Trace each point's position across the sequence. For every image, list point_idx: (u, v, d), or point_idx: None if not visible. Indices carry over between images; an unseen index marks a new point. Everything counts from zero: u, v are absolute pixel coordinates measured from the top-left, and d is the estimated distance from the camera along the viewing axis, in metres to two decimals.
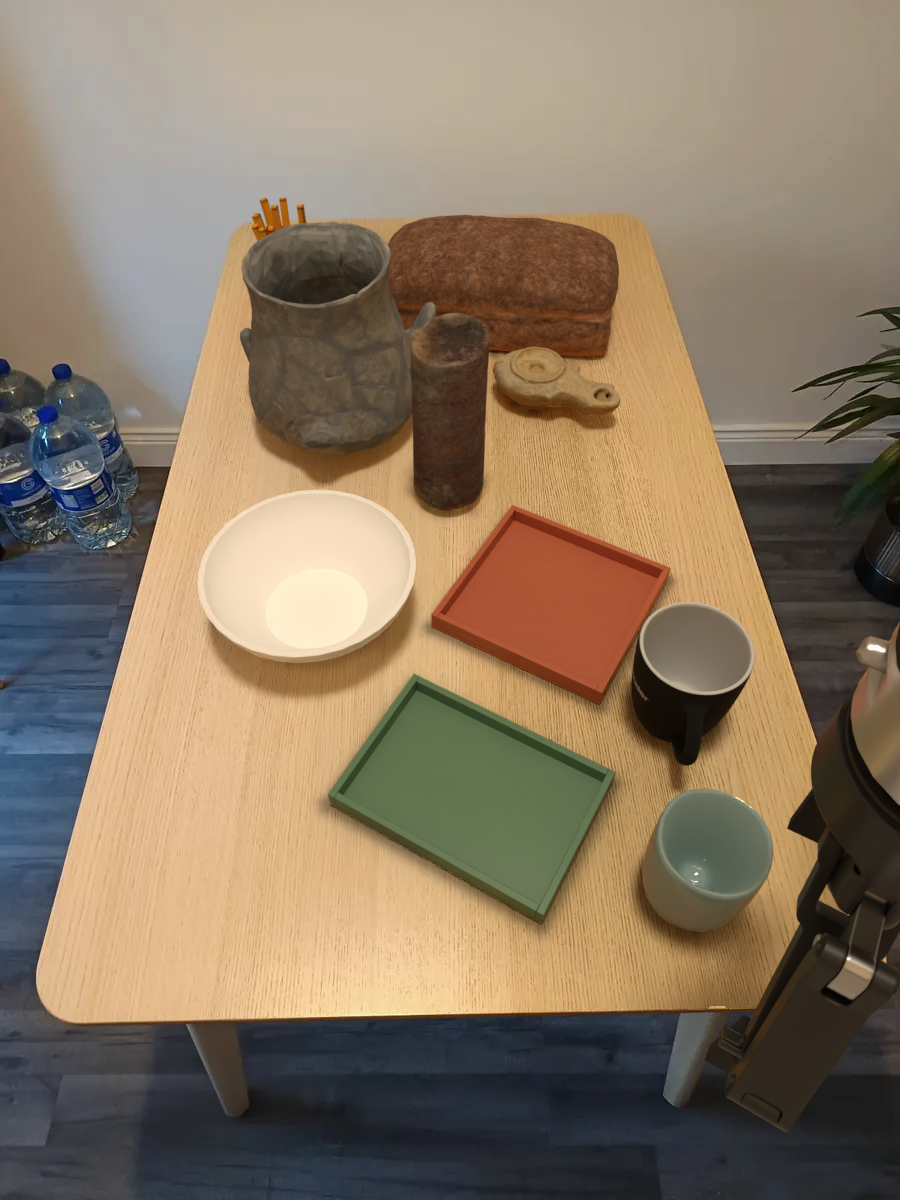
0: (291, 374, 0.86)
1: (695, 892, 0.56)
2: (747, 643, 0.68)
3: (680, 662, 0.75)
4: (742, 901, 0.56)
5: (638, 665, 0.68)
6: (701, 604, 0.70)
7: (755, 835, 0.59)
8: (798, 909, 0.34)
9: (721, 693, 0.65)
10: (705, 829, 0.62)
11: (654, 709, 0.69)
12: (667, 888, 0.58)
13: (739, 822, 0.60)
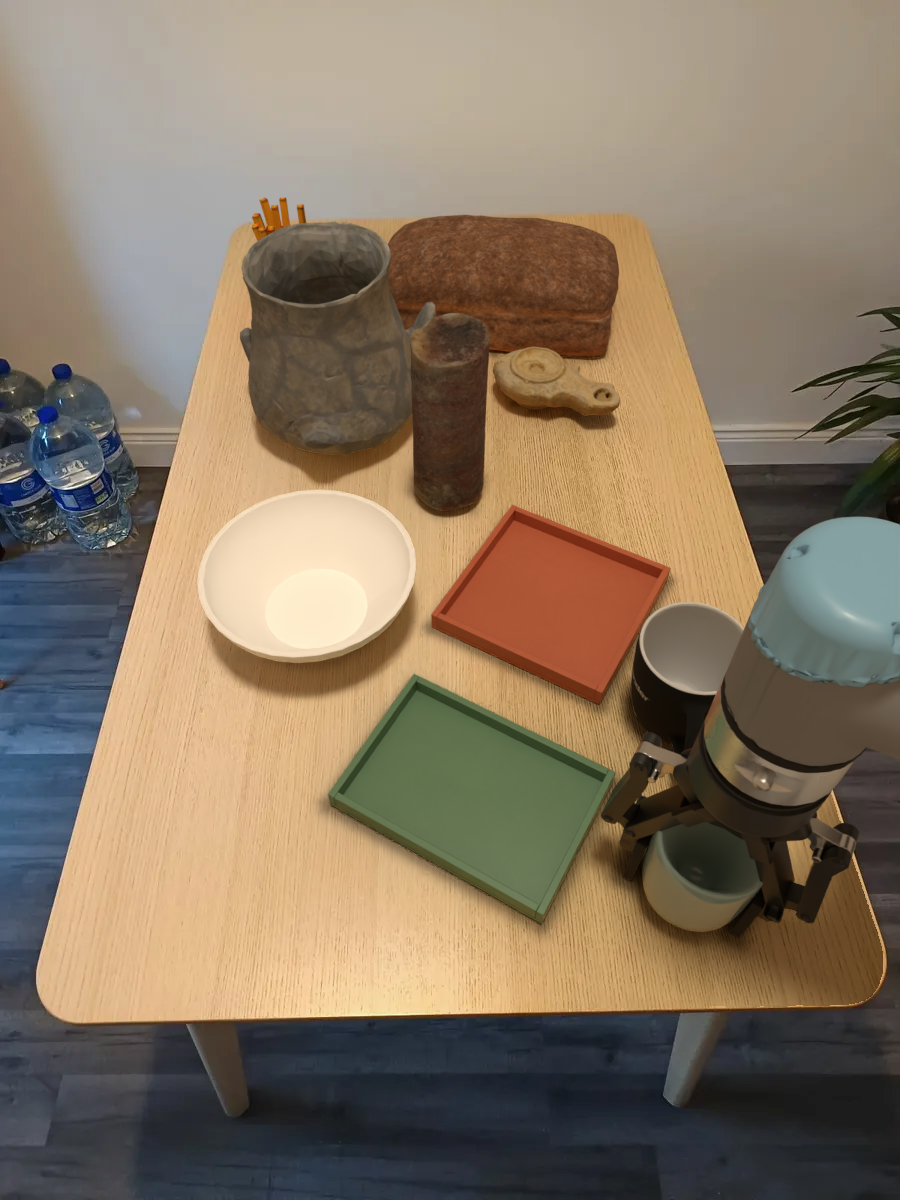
0: (291, 374, 0.86)
1: (695, 892, 0.56)
2: None
3: (680, 662, 0.75)
4: (742, 901, 0.56)
5: (638, 665, 0.68)
6: (701, 604, 0.70)
7: None
8: (769, 862, 0.53)
9: None
10: (705, 829, 0.62)
11: (654, 709, 0.69)
12: (667, 888, 0.58)
13: None
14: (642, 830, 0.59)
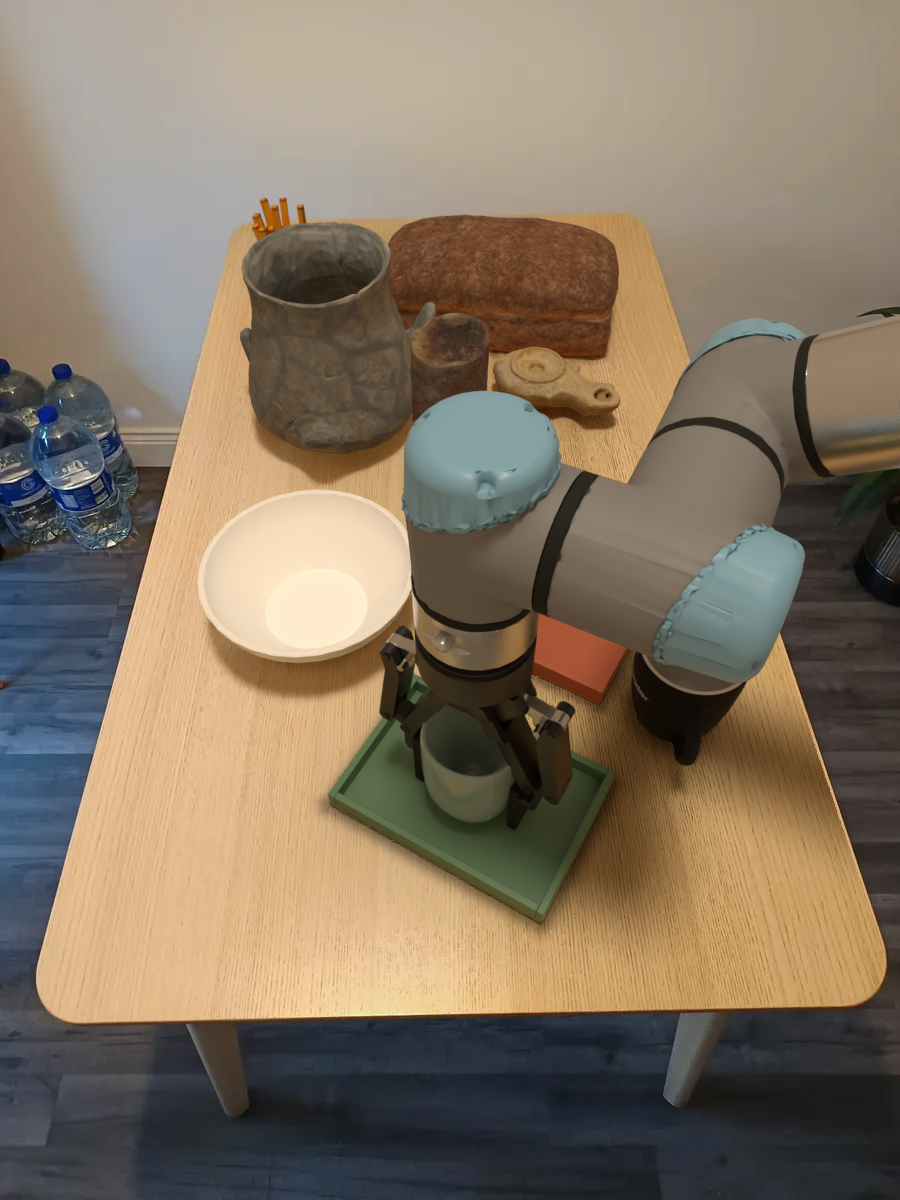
0: (291, 374, 0.86)
1: (448, 775, 0.61)
2: None
3: None
4: (492, 784, 0.61)
5: (638, 665, 0.68)
6: None
7: None
8: (502, 741, 0.58)
9: (721, 693, 0.65)
10: (478, 726, 0.66)
11: (654, 709, 0.69)
12: (431, 775, 0.63)
13: None
14: (412, 724, 0.64)
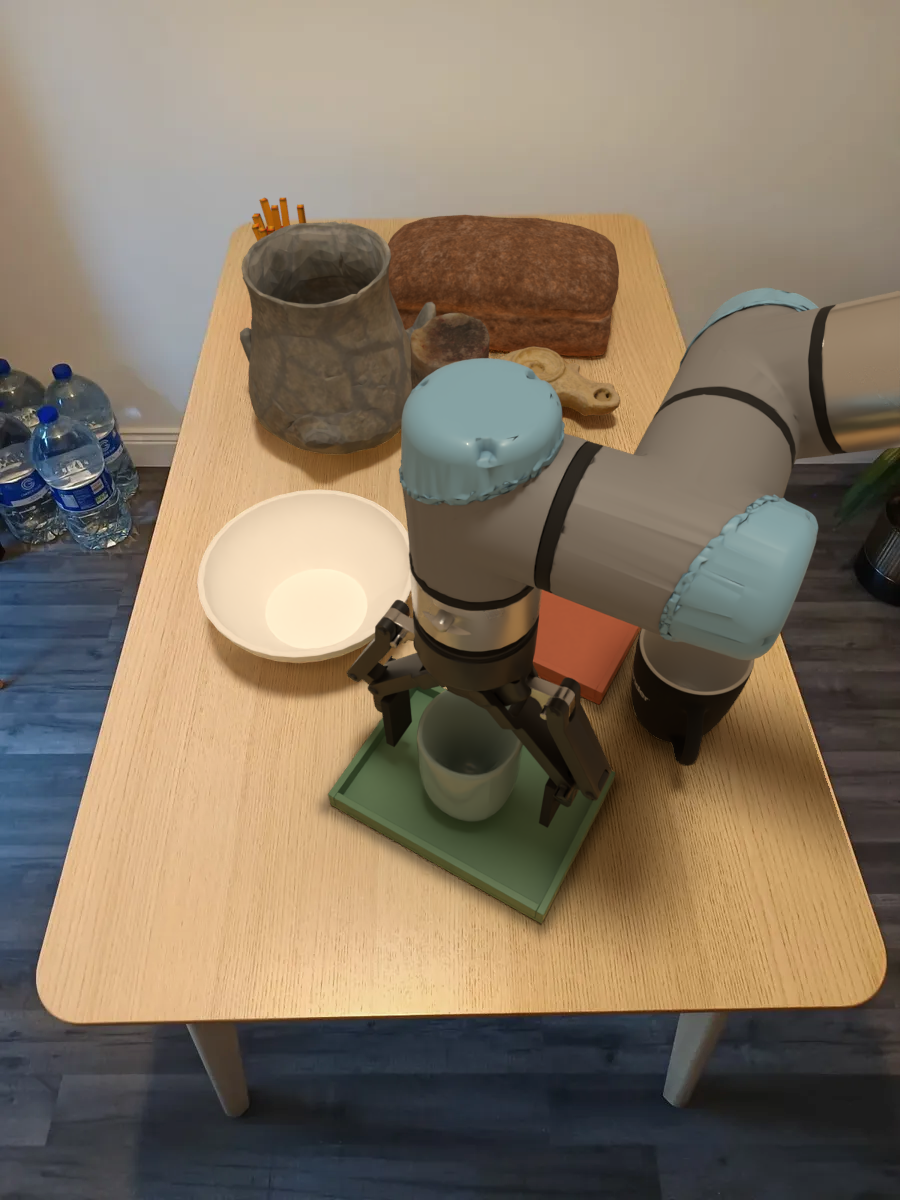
0: (291, 374, 0.86)
1: (444, 774, 0.61)
2: None
3: (680, 662, 0.75)
4: (488, 782, 0.61)
5: (638, 665, 0.68)
6: None
7: None
8: (513, 727, 0.55)
9: (721, 693, 0.65)
10: (475, 725, 0.66)
11: (654, 709, 0.69)
12: (427, 774, 0.63)
13: None
14: (385, 689, 0.62)
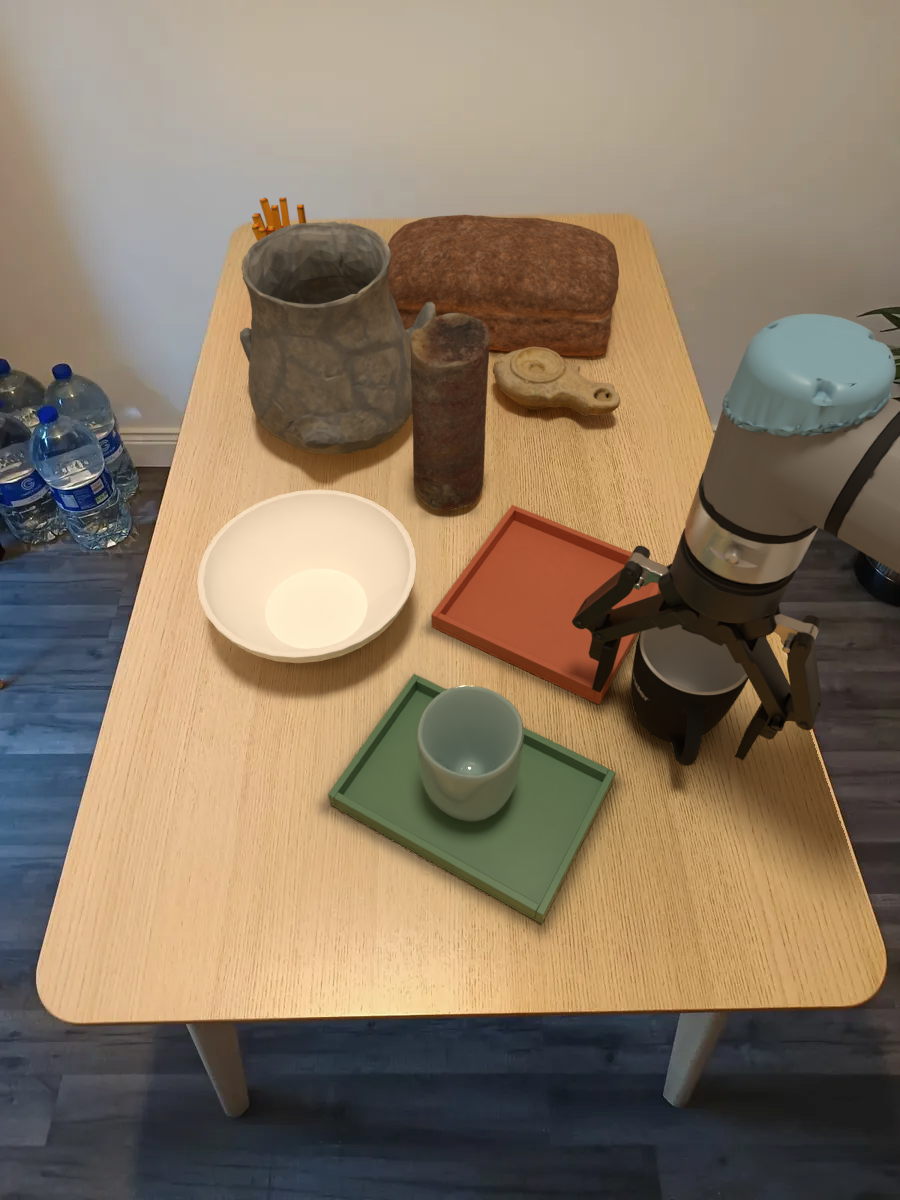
0: (291, 374, 0.86)
1: (444, 774, 0.61)
2: None
3: (680, 662, 0.75)
4: (488, 783, 0.61)
5: (638, 665, 0.68)
6: None
7: (511, 727, 0.64)
8: (750, 660, 0.61)
9: (721, 693, 0.65)
10: (475, 725, 0.66)
11: (654, 709, 0.69)
12: (427, 774, 0.63)
13: (500, 716, 0.65)
14: (611, 634, 0.67)
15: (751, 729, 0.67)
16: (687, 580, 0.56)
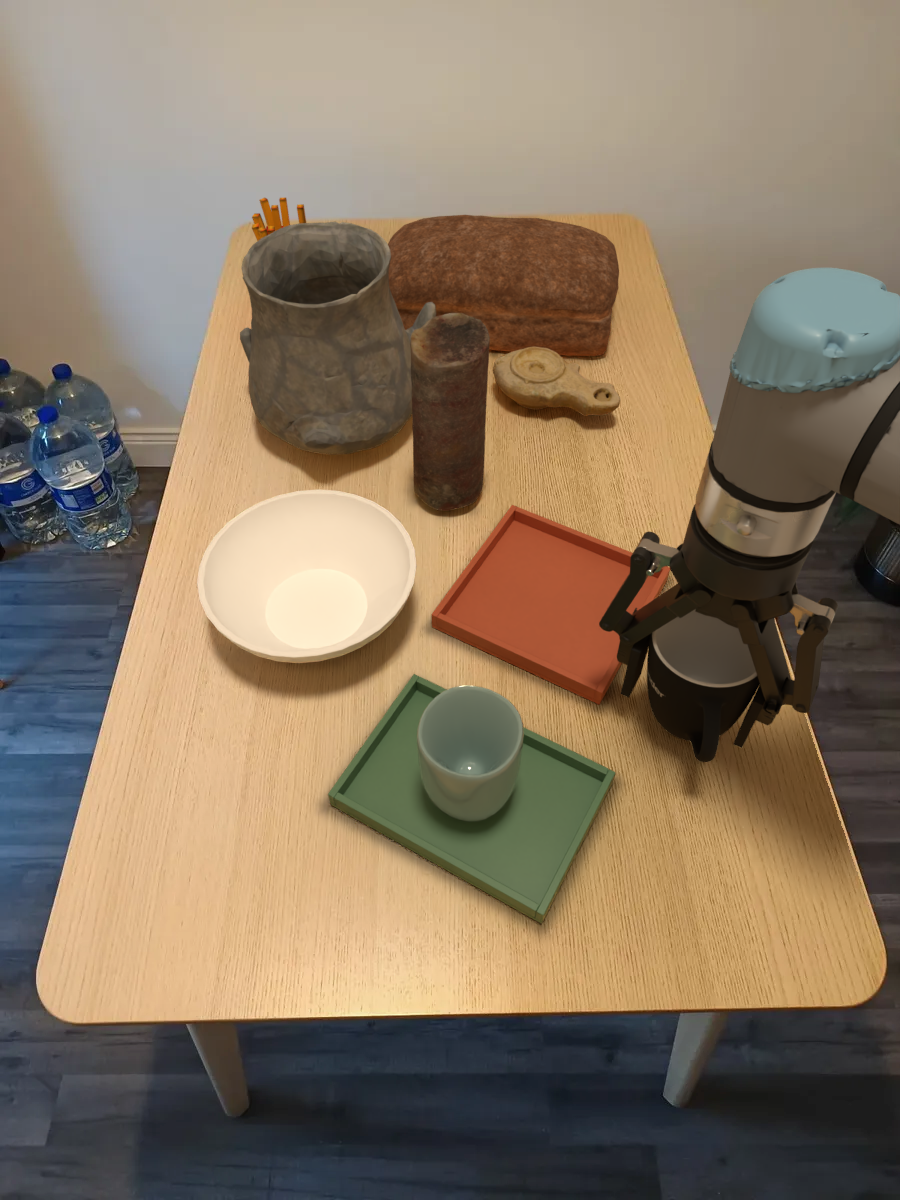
0: (291, 374, 0.86)
1: (444, 774, 0.61)
2: None
3: (697, 658, 0.74)
4: (488, 783, 0.61)
5: (651, 660, 0.67)
6: None
7: (511, 727, 0.64)
8: (759, 642, 0.59)
9: (737, 685, 0.63)
10: (475, 725, 0.66)
11: (670, 705, 0.67)
12: (427, 774, 0.63)
13: (500, 716, 0.65)
14: (637, 633, 0.66)
15: (748, 714, 0.65)
16: (699, 556, 0.54)
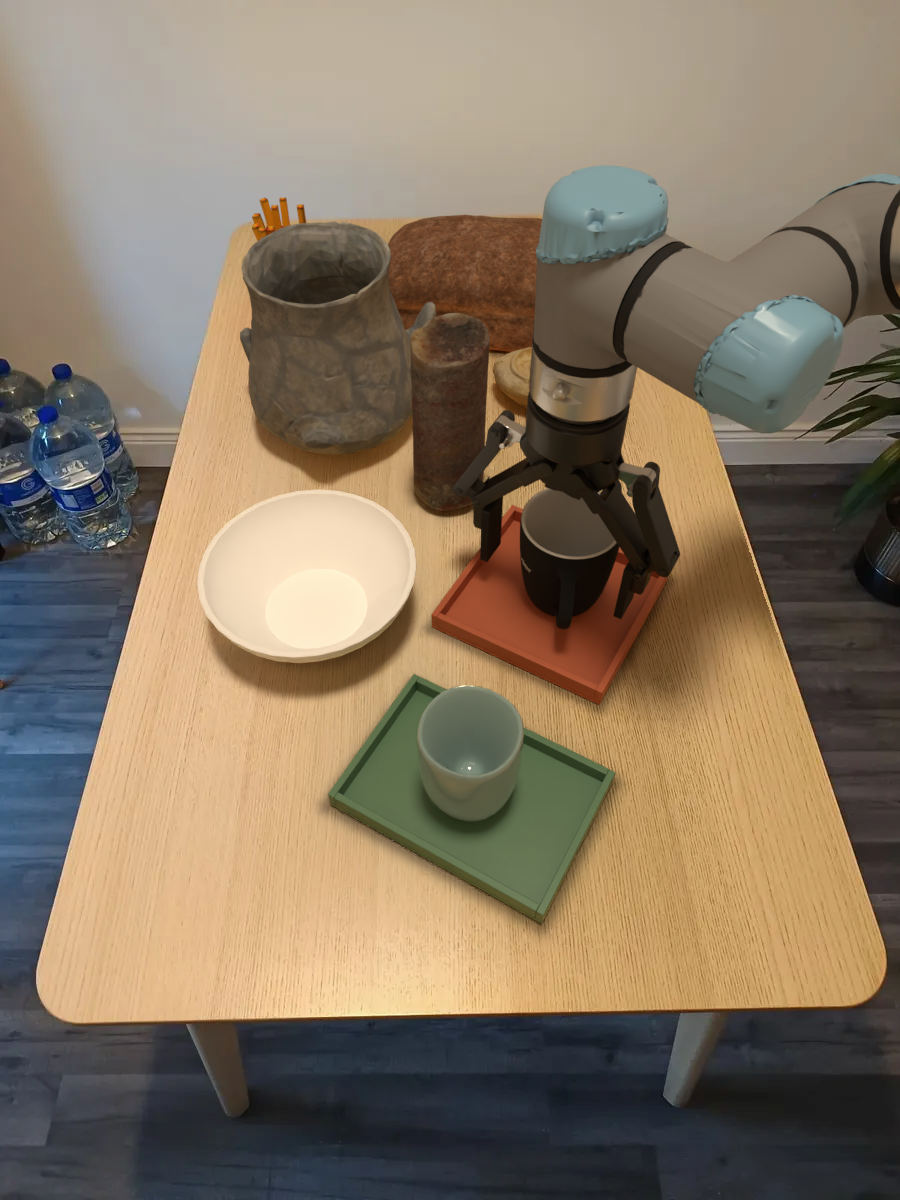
0: (291, 374, 0.86)
1: (444, 774, 0.61)
2: None
3: (569, 546, 0.83)
4: (488, 783, 0.61)
5: (521, 539, 0.76)
6: None
7: (511, 727, 0.64)
8: (602, 508, 0.68)
9: (589, 558, 0.72)
10: (475, 725, 0.66)
11: (536, 580, 0.77)
12: (427, 774, 0.63)
13: (500, 716, 0.65)
14: (487, 497, 0.75)
15: (621, 583, 0.73)
16: (533, 427, 0.63)
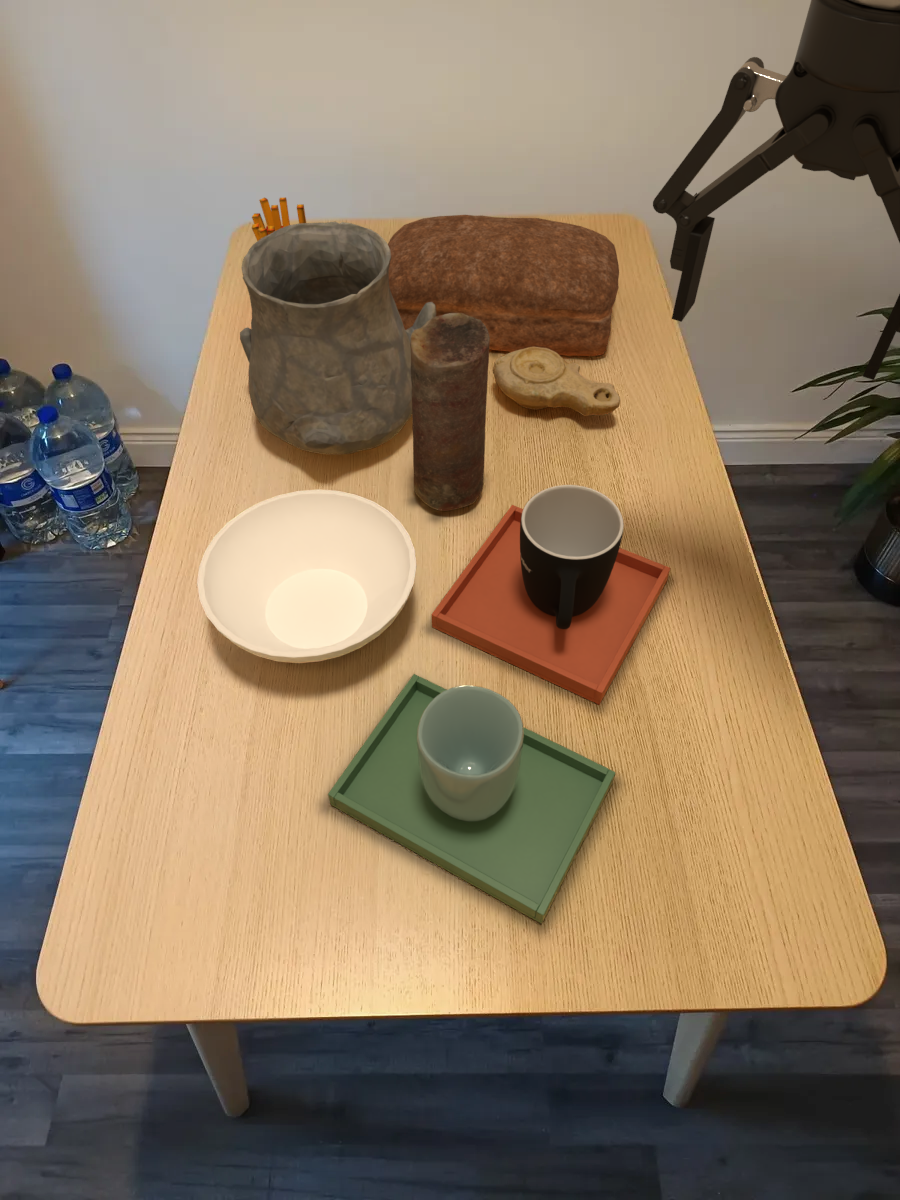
0: (291, 374, 0.86)
1: (444, 774, 0.61)
2: (618, 518, 0.75)
3: (569, 546, 0.83)
4: (488, 783, 0.61)
5: (521, 539, 0.76)
6: (580, 486, 0.77)
7: (511, 727, 0.64)
8: (896, 180, 0.49)
9: (589, 558, 0.72)
10: (475, 725, 0.66)
11: (536, 580, 0.77)
12: (427, 774, 0.63)
13: (500, 716, 0.65)
14: (704, 207, 0.56)
15: (890, 317, 0.54)
16: (825, 33, 0.44)
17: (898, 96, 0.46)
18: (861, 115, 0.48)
